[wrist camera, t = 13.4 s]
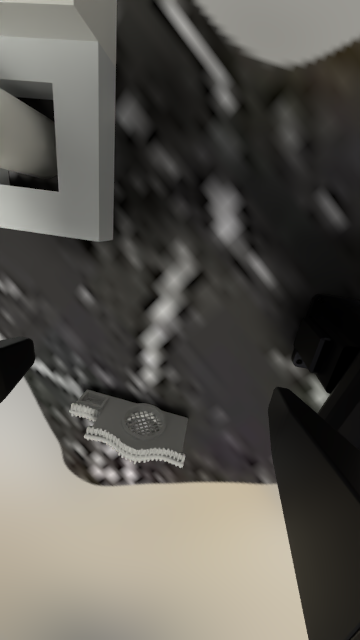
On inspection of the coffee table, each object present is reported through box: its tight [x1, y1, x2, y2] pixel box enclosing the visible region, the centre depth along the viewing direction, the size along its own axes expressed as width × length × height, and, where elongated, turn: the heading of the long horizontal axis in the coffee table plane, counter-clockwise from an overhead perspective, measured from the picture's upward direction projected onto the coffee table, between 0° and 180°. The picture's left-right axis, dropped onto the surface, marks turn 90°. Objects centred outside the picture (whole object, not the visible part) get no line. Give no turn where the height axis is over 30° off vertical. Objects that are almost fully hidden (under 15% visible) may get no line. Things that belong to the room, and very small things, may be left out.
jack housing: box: [0, 0, 117, 242], centre depth 15 cm, size 12×22×5 cm, turn 173°
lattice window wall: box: [69, 389, 188, 468], centre depth 24 cm, size 12×2×6 cm, turn 78°
